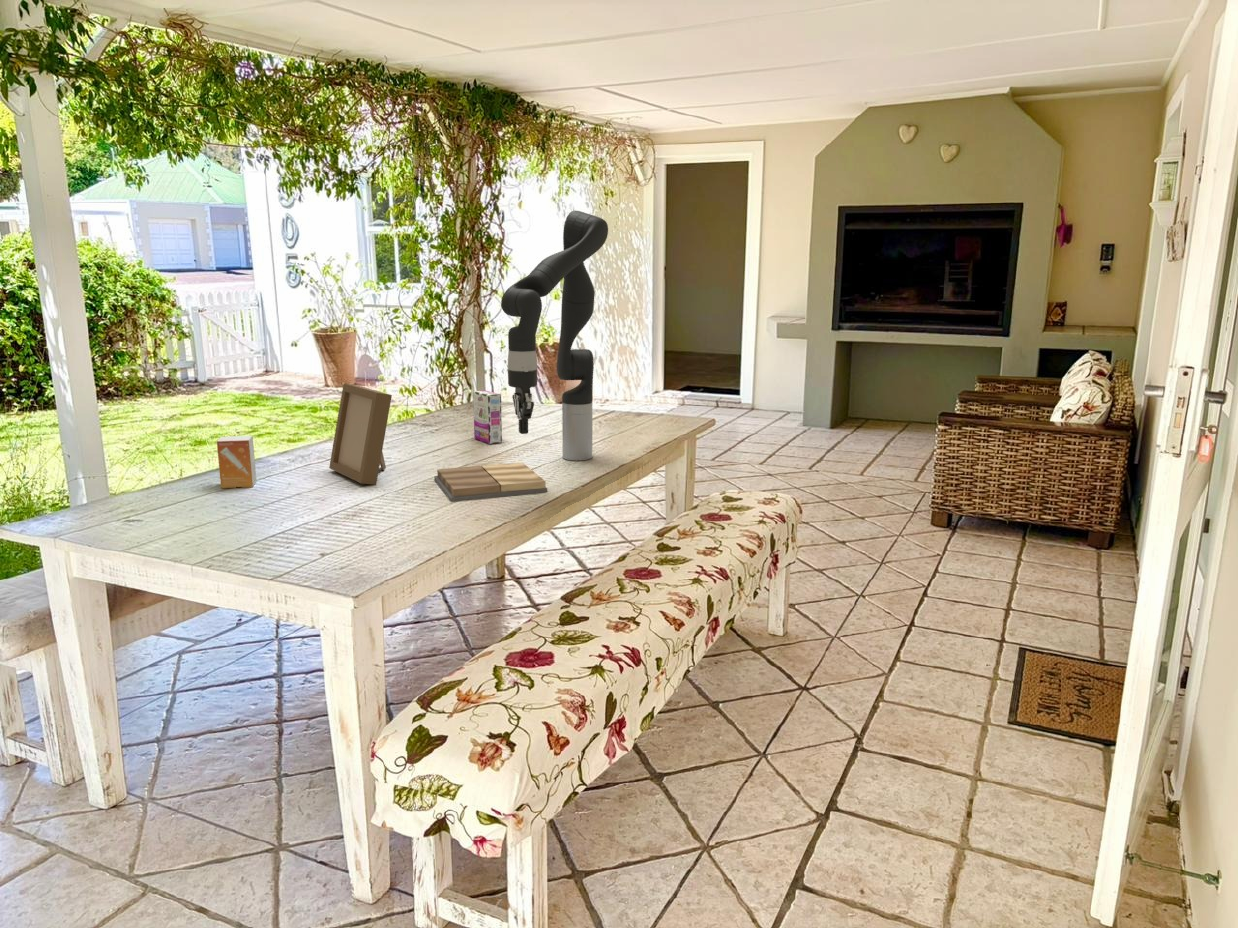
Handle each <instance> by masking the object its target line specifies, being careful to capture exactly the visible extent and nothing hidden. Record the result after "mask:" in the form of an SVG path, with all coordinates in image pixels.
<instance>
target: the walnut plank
mask: <svg viewBox="0 0 1238 928" xmlns="http://www.w3.org/2000/svg"><path fill="white" fill-rule="evenodd" d="M481 466H482V465H473V466H463V467H451V468H450V467H449V468H439V469H438V468H437V469H436V470H437V474H436V476H438V478H439V479H440V480H441V481H442V483H443V484H444V485H445V487H446V488H447V489H448V490H449V492H450V493H451V494H452V495H453V497H458V496H468V495H479V494H489V493H499V492H500V485H499V484H498V483H497V482H496V481H495V480H494V479H493V478H492V477H491V476H490V475H489V474H488V473H487V472H486V471H485V470H484V469H483V468H482V467H481Z"/></svg>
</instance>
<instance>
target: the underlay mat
mask: <svg viewBox="0 0 1238 928" xmlns="http://www.w3.org/2000/svg"><path fill="white" fill-rule="evenodd" d="M433 477H434V478H433V479H434V482H435V483H436V484H437V485H438V487H439V488H440V490H441V491H442V492H443V493H444V494H445V496H446V497H447V499H448V500H449V501H450V502H459V501H460V502H461V501H470V500H481V499H492V498H500V497H510V496H520V495H521V496H523V495H530V494H533V495H534V494H541V493H548V487H546V488H541V489H529V490H518V491H506V492H501V491H500V492H499V493H489V494H479V495H468V496H458V497H453V495H452V494H451V493H450V492H449V490H448V489H447V488H446V487H445V485H444V484H443V483H442V481H441V480H440V479H439V478H438V475H435V476H433ZM491 497H492V498H491Z"/></svg>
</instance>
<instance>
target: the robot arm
mask: <svg viewBox="0 0 1238 928" xmlns="http://www.w3.org/2000/svg"><path fill="white" fill-rule="evenodd" d="M562 233H563V236H562V239H563V240H562V243H563V245H562V248H563V249H562V250H561V251H559V252H556V253H554V254H551V255H549V256H547V257H545V258H544V259H542V260H541V261H540V262H539V263H538V264H537V265H536V266H535V267H534V269H532V270H531V271H530V273H528V275H526V276H524V277H523V278H521V279H520V280H517V282H515V283H514V284H512V285H511V286H509V287H508V288H507V289H506V290H505V291H504V293H503V294H502V297H501V302H500V306H501V310H502V311H503V313H504V314H505V315H508V316H510V317H516V318H520V320H519V322H518V324H517V326H516V325H515V326H512V327H510V328H509V330H508V335H507V336H508V338H507V339H508V353H507V380H508V381H507V384H508V386H509V387H511V388H515V389H514V393H513V394H512V401H513V407H514V412H515V415H516V417H517V420H518V433H519V434H521V435H527V434H528V433H529V420H530V419H532V415H533V411H534V407H535V402H534V401H532V400H533V394H532V393H531V392H532V391H531V388H534V387H536V386H538V356H537V345H536V344H537V343H536V342H537V340H536V338H537V337H536V336H537V335H536V334H537V330H538V328H539V322H540V318H541V315H542V310H543V309H542V308H543V302H542V298H543V297H546V296H548V295H549V294H550V293H551V292H552V291H553V290H554V288H556V287H557V285H558V284H559V283H560V282H561V281H562V280H563V281H562V282H563V283H562V286H563V287H562V294H561V314H560V315H561V316H560V317H561V319H560V335H559V341H558V350H557V357H556V358H557V359H556V374H557V376H558V378H559V379H560V380H561V381H580V383H579V384H578V385H577V386H576V387H573V388H571V389H569V390H566V391H564V392H563V393H562V395H561V403H562V404H561V413H562V416H561V417H562V418H561V420H562V421H561V422H562V423H561V424H562V425H561V426H562V429H561V430H562V433H561V434H562V440H561V441H562V447H561V448H562V459H565V460H567V461H587V460H591V459H592V458H593V393H594V391H593V387H594V385H593V384H594V383H593V382H594V371H595V370H594V369H595V368H594V365H595V361H594V355H593V352H592V350H590V349H587V348H582V349H581V348H575V349H572V347H573V344H574V342H575V340H576V338H577V336H578V335H579V333H580V332H582V330H583V329H584V327H586V325H587V324H588V323H589V321H590V319H592V316H593V313H594V307H595V295H596V293H595V288H594V285H593V282H592V280H591V279H592V278H591V276H590V275H589V273H588V270H587V268H586V265H585V263H584V262H585V261H586V260H587V259H590V257H592V256H593V255H594V254H596V253H597V252H598V251H600V250H601V248H603V246H604V245H605V242H606V241H607V239H608V236H609V224H608V222H607V221H606V220H605V219H603V218H602V217H599V216H598V215H597V216H596V215H593V214H590V213H587V212H584V211H580V210H571V211H570V212H569V214H568V215H567V216H566V218H565V221H564V224H563V232H562Z"/></svg>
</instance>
